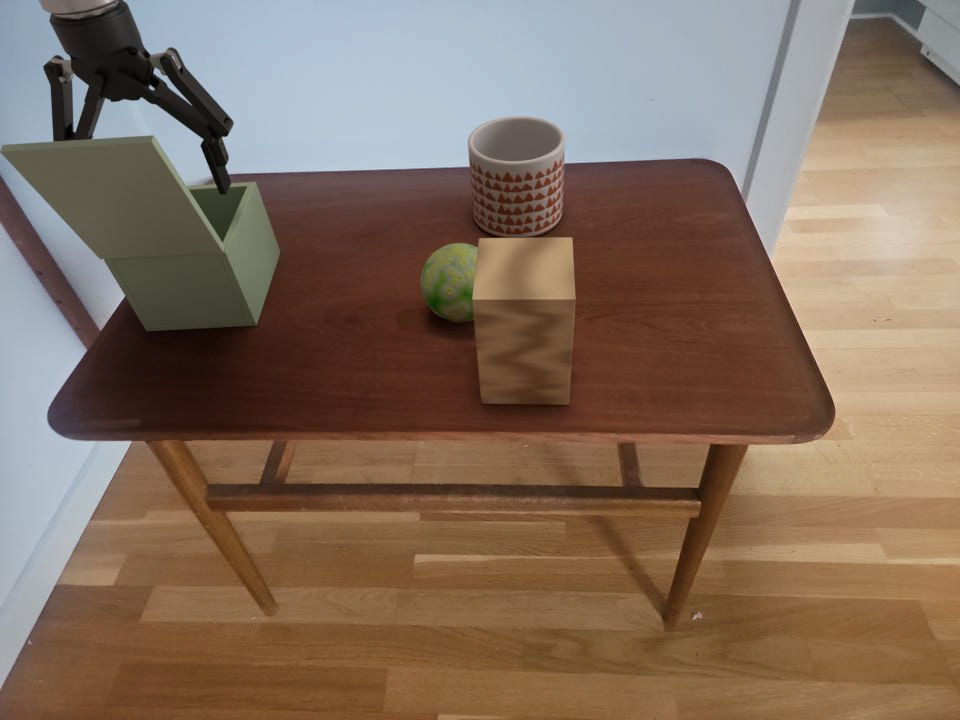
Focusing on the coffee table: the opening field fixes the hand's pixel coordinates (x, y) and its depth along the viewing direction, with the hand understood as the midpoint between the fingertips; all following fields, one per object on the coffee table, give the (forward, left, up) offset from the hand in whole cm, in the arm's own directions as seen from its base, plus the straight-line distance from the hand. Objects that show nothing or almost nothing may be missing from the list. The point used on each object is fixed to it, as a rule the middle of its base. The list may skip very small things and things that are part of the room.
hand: (171, 192), depth 80 cm
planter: (+43, -15, -16) cm, 49 cm away
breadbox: (0, 0, -16) cm, 16 cm away
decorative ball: (+23, -27, -16) cm, 39 cm away
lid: (-6, -8, +5) cm, 11 cm away
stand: (+22, -41, -16) cm, 49 cm away
